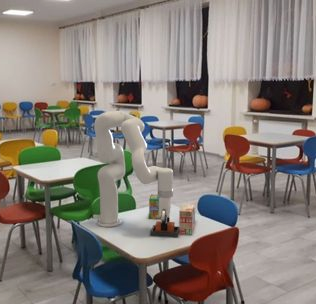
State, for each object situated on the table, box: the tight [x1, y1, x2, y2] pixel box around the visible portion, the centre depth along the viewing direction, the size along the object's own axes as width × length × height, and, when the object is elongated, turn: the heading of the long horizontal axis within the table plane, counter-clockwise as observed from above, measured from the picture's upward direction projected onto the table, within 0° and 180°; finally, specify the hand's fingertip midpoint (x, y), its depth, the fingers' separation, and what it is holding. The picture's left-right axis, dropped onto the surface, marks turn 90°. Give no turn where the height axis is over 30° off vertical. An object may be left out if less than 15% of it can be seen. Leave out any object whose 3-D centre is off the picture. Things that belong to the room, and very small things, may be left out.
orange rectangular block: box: [154, 220, 175, 233], centre depth 210 cm, size 9×5×4 cm, turn 79°
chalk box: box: [148, 194, 162, 220], centre depth 235 cm, size 9×9×15 cm
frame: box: [149, 224, 180, 238], centre depth 211 cm, size 14×10×2 cm
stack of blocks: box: [178, 203, 196, 236], centre depth 218 cm, size 21×6×12 cm, turn 168°
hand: (165, 227), depth 210 cm, fingers open, 7 cm apart
